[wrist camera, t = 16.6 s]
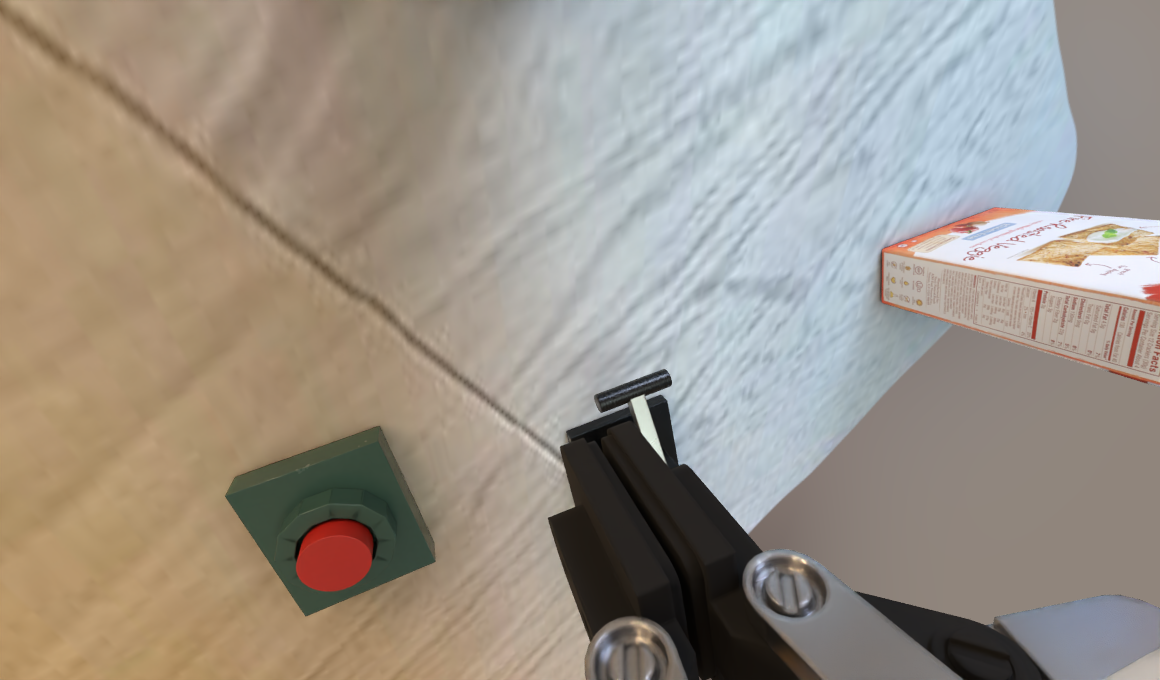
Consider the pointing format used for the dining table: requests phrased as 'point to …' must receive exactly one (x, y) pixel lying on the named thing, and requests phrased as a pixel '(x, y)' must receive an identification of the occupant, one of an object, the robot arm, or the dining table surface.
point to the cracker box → (1040, 284)
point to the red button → (335, 555)
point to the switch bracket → (658, 414)
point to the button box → (334, 512)
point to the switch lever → (637, 403)
